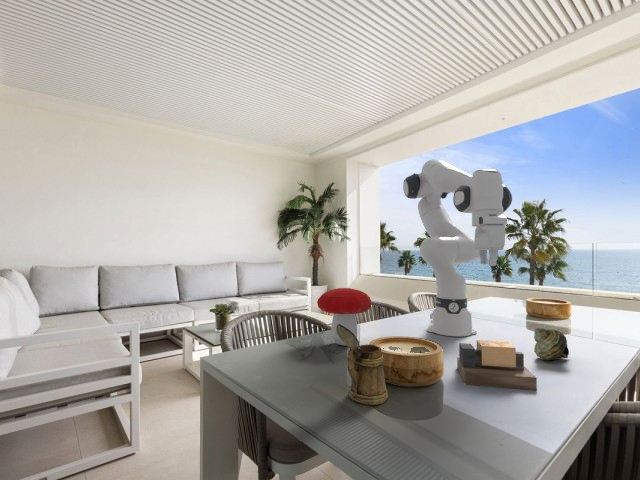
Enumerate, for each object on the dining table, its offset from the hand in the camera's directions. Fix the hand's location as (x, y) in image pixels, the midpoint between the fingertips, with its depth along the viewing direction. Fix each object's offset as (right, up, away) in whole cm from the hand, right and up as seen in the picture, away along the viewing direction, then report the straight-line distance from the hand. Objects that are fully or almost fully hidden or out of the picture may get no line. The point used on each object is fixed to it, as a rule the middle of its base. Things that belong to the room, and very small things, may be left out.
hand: (488, 264), depth 104 cm
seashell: (+19, -29, -2) cm, 35 cm away
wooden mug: (-43, -29, -28) cm, 59 cm away
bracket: (-6, -29, -16) cm, 33 cm away
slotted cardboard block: (-6, -25, -16) cm, 30 cm away
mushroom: (-44, -30, +15) cm, 55 cm away
